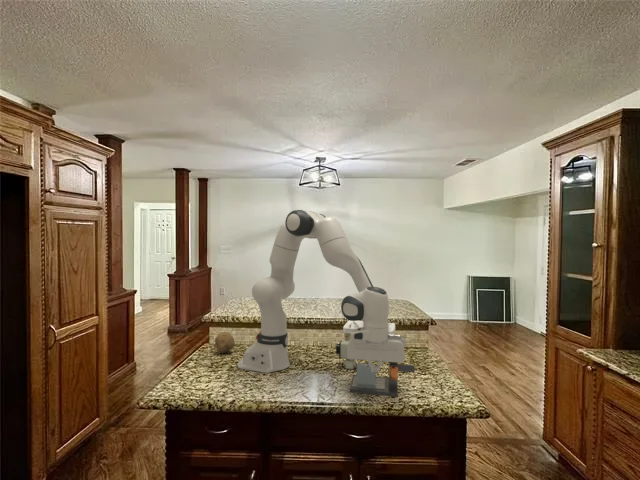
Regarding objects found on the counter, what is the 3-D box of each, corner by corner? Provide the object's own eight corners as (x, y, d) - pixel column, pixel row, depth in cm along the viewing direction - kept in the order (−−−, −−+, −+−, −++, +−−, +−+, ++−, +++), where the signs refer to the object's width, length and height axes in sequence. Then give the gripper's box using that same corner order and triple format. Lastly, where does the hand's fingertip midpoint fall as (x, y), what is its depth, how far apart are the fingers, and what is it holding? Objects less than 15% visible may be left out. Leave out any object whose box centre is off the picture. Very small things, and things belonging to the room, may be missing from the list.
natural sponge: (232, 349, 178) (233, 329, 178) (236, 354, 170) (236, 333, 170) (213, 351, 175) (214, 330, 175) (216, 357, 167) (216, 335, 166)
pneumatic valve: (362, 370, 151) (363, 342, 151) (335, 368, 154) (335, 340, 154) (363, 366, 157) (364, 339, 157) (337, 364, 159) (337, 337, 159)
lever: (389, 380, 124) (389, 368, 124) (389, 373, 131) (389, 362, 131) (398, 380, 124) (398, 369, 124) (397, 373, 130) (397, 362, 130)
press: (349, 392, 130) (350, 342, 130) (353, 377, 144) (353, 332, 144) (414, 398, 126) (415, 347, 126) (412, 382, 140) (412, 336, 140)
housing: (356, 383, 134) (356, 366, 134) (357, 378, 139) (357, 362, 139) (375, 385, 133) (375, 368, 133) (375, 380, 138) (375, 363, 138)
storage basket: (341, 358, 168) (342, 326, 168) (348, 347, 183) (348, 319, 183) (393, 363, 162) (394, 330, 161) (395, 352, 177) (396, 322, 177)
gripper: (405, 333, 128) (405, 371, 128) (348, 329, 131) (347, 367, 132) (406, 337, 122) (405, 378, 122) (346, 334, 125) (346, 373, 125)
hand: (375, 372), depth 127 cm, fingers closed
